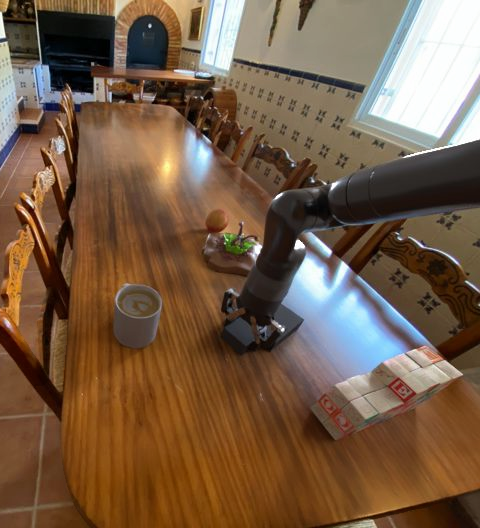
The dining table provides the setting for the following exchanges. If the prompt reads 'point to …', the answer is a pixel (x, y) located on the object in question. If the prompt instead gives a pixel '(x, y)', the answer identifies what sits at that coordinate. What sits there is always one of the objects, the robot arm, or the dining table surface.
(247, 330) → the pad
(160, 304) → the coffee mug
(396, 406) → the stack of blocks
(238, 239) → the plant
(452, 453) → the dining table surface
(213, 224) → the fruit
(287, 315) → the notch pad
